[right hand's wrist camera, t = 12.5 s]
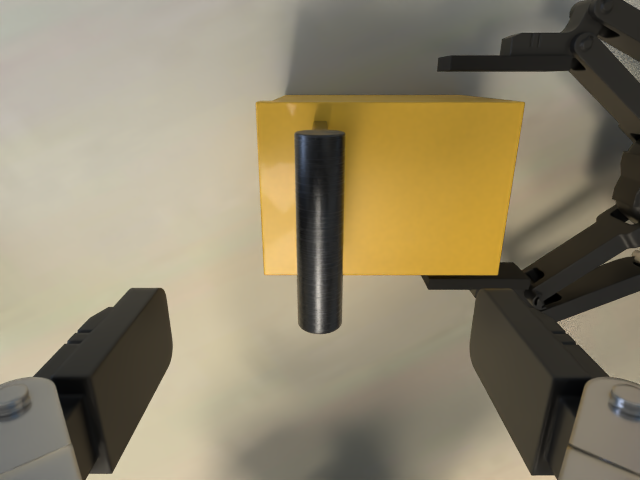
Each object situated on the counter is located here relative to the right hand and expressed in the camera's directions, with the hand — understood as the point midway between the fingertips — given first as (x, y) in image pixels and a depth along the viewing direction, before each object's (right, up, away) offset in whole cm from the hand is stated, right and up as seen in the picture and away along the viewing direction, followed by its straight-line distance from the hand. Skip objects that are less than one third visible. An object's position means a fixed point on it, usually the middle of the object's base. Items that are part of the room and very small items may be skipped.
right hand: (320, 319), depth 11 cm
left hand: (+7, +6, +16) cm, 18 cm away
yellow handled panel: (+3, +5, +13) cm, 15 cm away
